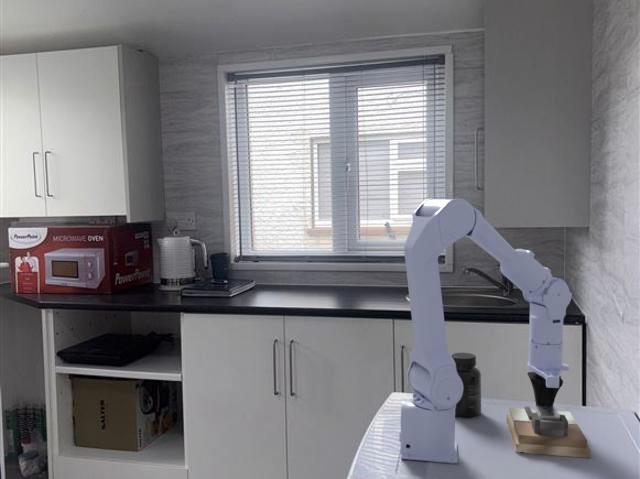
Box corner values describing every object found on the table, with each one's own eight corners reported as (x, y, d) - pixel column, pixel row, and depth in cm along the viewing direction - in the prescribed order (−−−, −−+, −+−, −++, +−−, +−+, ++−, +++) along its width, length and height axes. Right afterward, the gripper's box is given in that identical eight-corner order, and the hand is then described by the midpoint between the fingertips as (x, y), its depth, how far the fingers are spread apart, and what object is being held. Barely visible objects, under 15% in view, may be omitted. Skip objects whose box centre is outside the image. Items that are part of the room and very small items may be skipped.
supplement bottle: (477, 406, 118) (478, 351, 117) (483, 419, 111) (484, 360, 110) (444, 405, 119) (445, 350, 118) (448, 418, 112) (449, 360, 111)
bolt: (541, 431, 98) (541, 415, 98) (536, 420, 103) (536, 405, 103) (559, 432, 98) (560, 417, 97) (553, 421, 102) (554, 406, 102)
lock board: (515, 452, 97) (516, 421, 97) (506, 422, 110) (507, 394, 110) (590, 458, 95) (591, 426, 95) (571, 426, 108) (572, 398, 107)
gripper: (579, 353, 95) (576, 430, 96) (560, 332, 109) (558, 400, 110) (535, 351, 96) (533, 427, 97) (522, 330, 110) (520, 397, 112)
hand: (543, 413), depth 104 cm, fingers closed
